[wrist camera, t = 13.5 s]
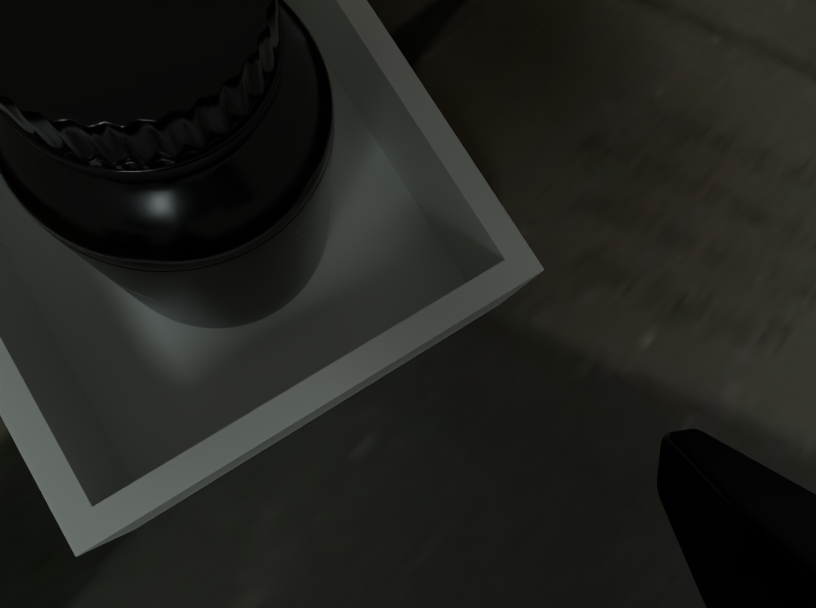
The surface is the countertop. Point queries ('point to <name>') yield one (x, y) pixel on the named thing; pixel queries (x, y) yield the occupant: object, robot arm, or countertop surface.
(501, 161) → the countertop surface
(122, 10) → the supplement bottle
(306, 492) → the countertop surface
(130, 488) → the box
